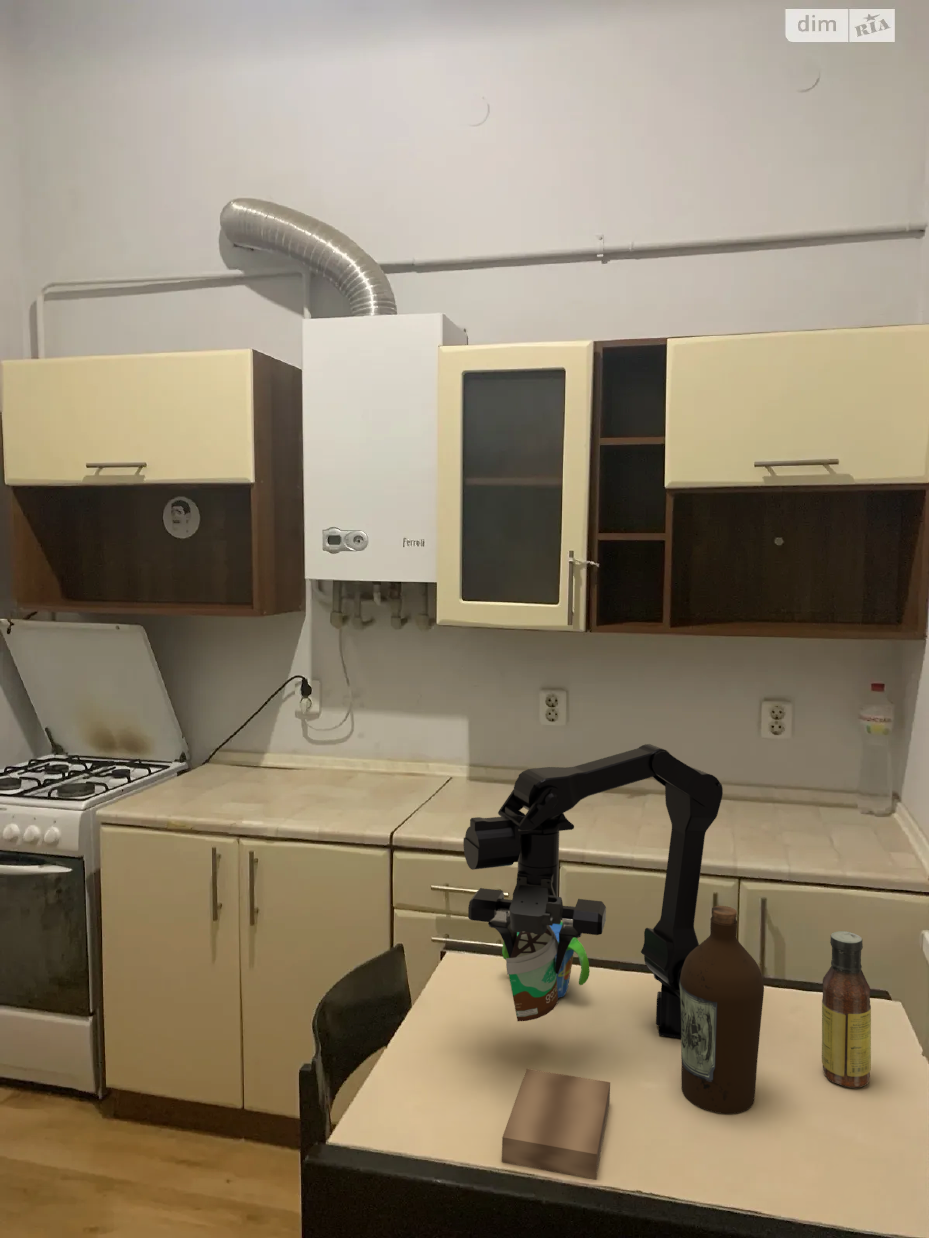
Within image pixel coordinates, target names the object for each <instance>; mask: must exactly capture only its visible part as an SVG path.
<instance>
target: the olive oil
mask: <svg viewBox="0 0 929 1238" xmlns="http://www.w3.org/2000/svg"><path fill="white" fill-rule="evenodd" d="M737 912H738V911H737V910H736V909H735V908H733V907H731V906H728V905H716V906H713V907H711V917H710V924H709V925H710V927H709V928H710V930H709V931H710V933H709V934H710V935H708V937H706V939H705V940H703V941H702V942H701V943H699V945H698V946H697V947H696V948H695V949H694V950H692V951H691V952H690V953H689V955H688V956H687V957H686V959H685V961H684V964H683V967H682V970H681V975H680V1000H681V1038H680V1040H681V1041H680V1043H681V1045H680V1046H681V1048H680V1049H681V1054H680V1055H681V1057H680V1058H681V1069H680V1070H681V1076H680V1077H681V1081H680V1082H681V1084H680V1085H681V1091H682V1094H683V1095H684V1096H685V1098H686V1099H687V1100H688V1101H689V1102H690V1103H692V1104H694V1105H695V1106H696V1107H698V1108H700V1109H703V1110H704V1111H705V1110H706V1111H708V1112H710V1113H711V1112H712V1113H715V1114H721V1115H733V1114H740V1113H744V1112H746V1111H747V1110H749V1109H750V1108H752V1107H753V1105H754V1103H755V1099H756V1086H757V1070H758V1068H757V1067H758V1059H759V1057H758V1056H759V1048H760V1047H759V1045H760V1035H761V1024H762V1013H763V1005H764V1004H763V1003H764V994H765V985H764V979H763V975H762V971H761V968H760V966H759V964H758V962H757V961H756V960H755V959H754V957H753V956H752V955H751V954H750V953H749V952H748V950H746V948H745V947H744V946H743V945H742V943H740V941H739V939H738V938H737V936H738V935H737V932H738V921H737V917H738V916H737V915H738V914H737Z"/></svg>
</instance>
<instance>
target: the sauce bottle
mask: <svg viewBox="0 0 929 1238" xmlns="http://www.w3.org/2000/svg"><path fill="white" fill-rule="evenodd" d="M829 943H830V946H831V962H830V967H829V969H828V970H827V972H826V973H825V974H824V976H823V978H822V1000H821V1064H822V1071H823V1073H824V1076H825V1077H826V1079H828V1081H830V1082H832V1083H835V1084H837V1085H839V1086H843V1087H845V1088H851V1089H852V1088H863V1087H864V1086H867V1085H868V1083H869V1082H870V1079H871V1075H870V1074H871V1068H872V1040H871V1039H872V1007H871V987H870V985H869V983H868V981H867V979H866V977H865V974H864V972H863V970H862V968H863V967H862V950H863V947H864V946H863V938H862V936H860V935H858V934H856V933H854V932H850V931H846V930H843V931H842V930H841V931H835V932H832V933H831V934H830V940H829Z"/></svg>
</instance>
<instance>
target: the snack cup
mask: <svg viewBox="0 0 929 1238" xmlns="http://www.w3.org/2000/svg"><path fill="white" fill-rule="evenodd" d="M562 925H563V924H562V921H561V923H560V924H553V925H552V926H550V925H549V926H550V927H551V929H552V930H553V931H554V933H555V936H556V938H557V941H558V943H559V932H560V930H561V927H562ZM518 934H519V932H517V936H518ZM501 949H502V950H501V953H502V958H503V959H504V960H505V961H506V958H509V955H508V952H507V949H506V946H505V943H504V941H503V943H502V948H501ZM574 953H576V954H577V957H578V961H579V964H580V974H579V977H578V985H579V986H583V985H584V984H585V983H586V982H587V981H588V980H589V976H590V963H589V957H588V956H587V953H586V949H585V947H584V945H583V943H581V942H580V941H579V939H578V938H573V939H572V940H571V942H570V944H569V946H568V948H567V950H566V953H565V956H564V959H563V962H562V965H561V968H560V971H559V973H558V974H556V976H557V990H558V999H559V998H563V997H565V995H566V994H567V991H568V989H569V984H570V978H571V972H572V967H573V960H574ZM556 957H557V954H556V956H555V962H556Z"/></svg>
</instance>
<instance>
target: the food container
mask: <svg viewBox="0 0 929 1238" xmlns="http://www.w3.org/2000/svg"><path fill="white" fill-rule="evenodd" d="M557 950H558V941H557V938H556V936H555V933H554V931H553V930H552V929H551V927H550V926H549V925H547V929H546V932H545V933H543V934H540V935H537V934H534V933H530V932H522V931H521V932H519V934H518V936H517V938H516V940H515V943H514V947H513V951H512V954H511V957H510V958H506V960H505V964H506V965H505V968H506V975H508V979H509V983H510V988H511V994H512V995H511V996H512V997H513V1004H514V1009H515V1014H516V1021H517V1022H528V1021H533V1020H537V1019H539V1018H542V1017H544V1016H546V1015H548V1014H549V1013H550V1012H552V1011H554V1009H555V1008H556V1006H557V1005H558V1003H559V998H558V990H557V976H556V973H555V964H556V962H555V956H556V954H557Z"/></svg>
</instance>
